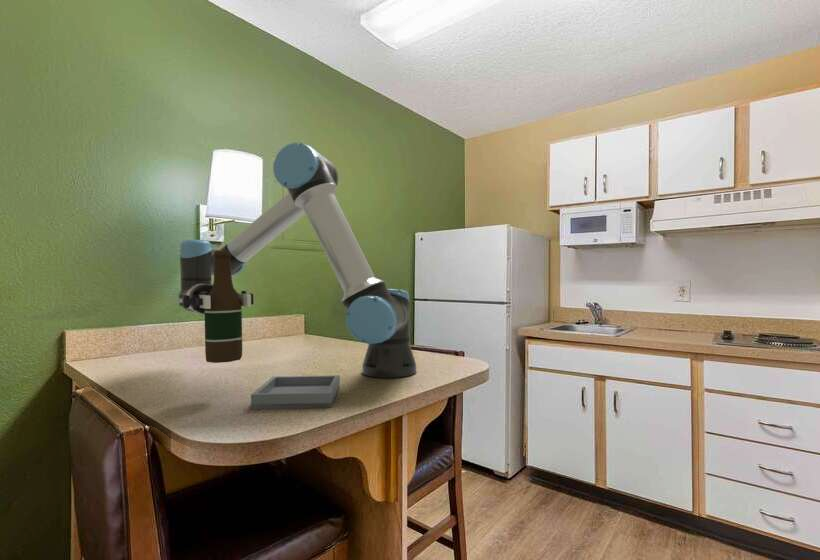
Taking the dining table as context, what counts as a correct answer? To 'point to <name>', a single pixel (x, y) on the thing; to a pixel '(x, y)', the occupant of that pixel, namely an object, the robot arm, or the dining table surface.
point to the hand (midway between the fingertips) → (229, 301)
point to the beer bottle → (223, 315)
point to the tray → (296, 392)
